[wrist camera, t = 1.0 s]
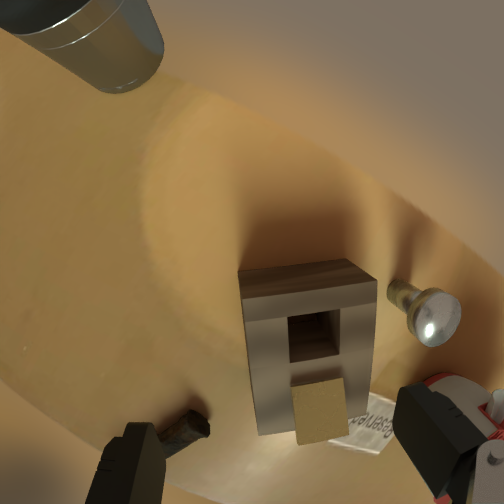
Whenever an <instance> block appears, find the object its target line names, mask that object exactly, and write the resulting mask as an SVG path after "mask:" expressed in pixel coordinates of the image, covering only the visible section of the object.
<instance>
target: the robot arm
mask: <svg viewBox="0 0 504 504" xmlns="http://www.w3.org/2000/svg"><path fill="white" fill-rule="evenodd" d="M0 27H1V28H2V29H4V30H6V31H7V32H9V33H11V34H12V35H14V36H15V37H17V38H19V39H20V40H22V41H24V42H25V43H27V44H28V45H30V46H32V47H34V48H35V49H37V50H38V51H40V52H41V53H43V54H45V55H46V56H48V57H49V58H51V59H52V60H54V61H56V62H57V63H59V64H60V65H62V66H63V67H65V68H66V69H68V70H69V71H71V72H72V73H74V74H75V75H77V76H78V77H80V78H81V79H83V80H84V81H86V82H87V83H89V84H91V85H92V86H94V87H95V88H97V89H98V90H100V91H103V92H106V93H114V94H116V93H124V92H127V91H130V90H133V89H135V88H137V87H139V86H141V85H142V84H143V83H145V82H146V81H147V80H148V79H149V78H150V77H151V76H152V75H153V74H154V73H155V72H156V70H157V69H158V67H159V66H160V63H161V61H162V58H163V54H164V42H163V38H162V36H161V33H160V31H159V28H158V26H157V24H156V21H155V19H154V17H153V14H152V12H151V9H150V7H149V5H148V3H147V0H0ZM392 425H393V431H394V434H395V436H396V438H397V439H398V441H399V442H400V444H401V445H402V447H403V448H404V450H405V451H406V453H407V455H408V456H409V458H410V459H411V461H412V462H413V464H414V465H415V467H416V469H417V470H418V472H419V473H420V475H421V476H422V478H423V480H424V481H425V483H426V484H427V486H428V487H429V489H430V491H431V492H432V494H433V495H434V497H435V498H436V499H439V498H441V497H443V496H445V495H447V494H448V495H449V497H450V498H451V499H450V501H449V503H448V504H504V440H498V439H495V440H488V439H487V438H486V436H485V435H484V434H483V433H482V432H481V431H480V430H479V429H478V428H477V427H476V426H475V425H474V424H473V423H472V422H471V420H470V419H469V418H468V417H467V416H466V415H463V412H462V411H461V410H460V409H459V408H457V406H456V405H455V404H454V403H453V402H452V401H451V399H450V398H449V397H447V396H445V395H443V394H441V393H439V392H437V391H434V392H432V391H431V390H430V389H429V388H428V387H427V386H426V385H425V384H424V383H423V382H417V383H414V384H411V385H407V386H404V387H401V388H400V389H399V392H398V396H397V401H396V406H395V411H394V416H393V421H392ZM165 473H166V460H165V455H164V452H163V449H162V447H161V444H160V441H159V439H158V436H157V433H156V431H155V428H154V425H153V424H152V423H150V422H129V423H128V424H127V425H126V428H125V431H124V434H123V437H114V438H113V439H112V440H111V441H110V442H109V443H108V444H107V445H106V446H105V448H104V450H103V453H102V456H101V461H100V462H99V464H98V467H97V471H96V473H95V475H94V478H93V481H92V484H91V487H90V490H89V493H88V496H87V499H86V502H85V504H161V500H162V493H163V486H164V479H165Z"/></svg>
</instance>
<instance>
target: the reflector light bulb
mask: <svg viewBox="0 0 504 504" xmlns="http://www.w3.org/2000/svg"><path fill="white" fill-rule="evenodd" d="M387 298H388V300H389V301H390V302H391V303H392V304H394V305H395V306H396V307H397V308H399V309H400V310H401V311H402V312H404V313H405V314H406V315H407V327H408V329H409V331H410V332H411V333H412V334H413V335H414V336H415V337H416V338H417V339H418V340H420V341H421V342H422V343H423V344H424V345H426V346H428V347H436V346H439V345H441V344H443V343H445V342H446V341H447V340H448V339H449V338H450V337H451V336H452V335H453V334H454V332H455V331H456V329H457V327H458V325H459V322H460V318H461V305H460V303H459V301H458V300H457V299H456V298H455V297H454V296H452V295H450V294H448V293H447V292H445V291H443V290H441V289H439V288H435V287H433V288H428V289H426V290H424V291H421V290H420V289H418V288H417V287H415V286H413V285H412V284H410V283H408V282H407V281H405V280H403V279H396V280H394V281H393V282H392V283H391V284H390V285H389V287H388V289H387Z"/></svg>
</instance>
